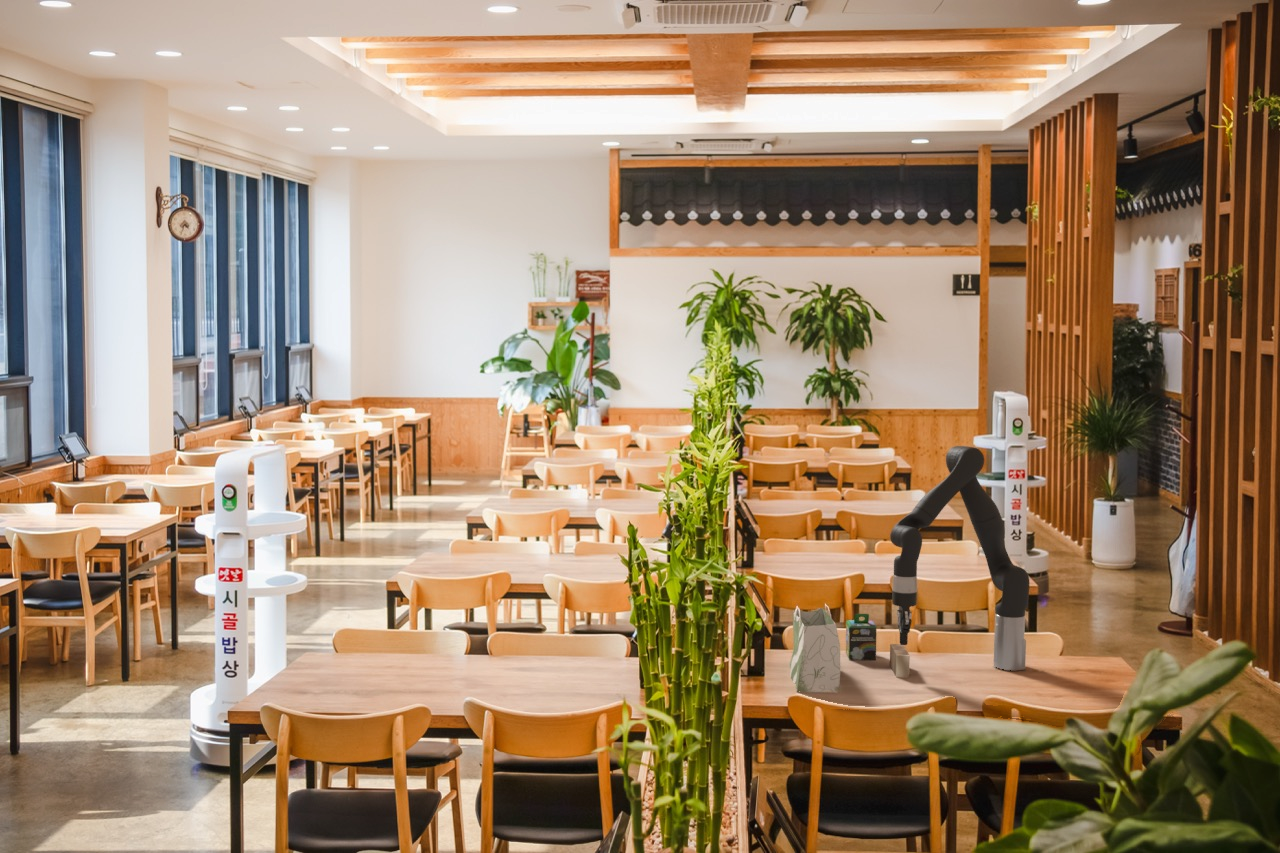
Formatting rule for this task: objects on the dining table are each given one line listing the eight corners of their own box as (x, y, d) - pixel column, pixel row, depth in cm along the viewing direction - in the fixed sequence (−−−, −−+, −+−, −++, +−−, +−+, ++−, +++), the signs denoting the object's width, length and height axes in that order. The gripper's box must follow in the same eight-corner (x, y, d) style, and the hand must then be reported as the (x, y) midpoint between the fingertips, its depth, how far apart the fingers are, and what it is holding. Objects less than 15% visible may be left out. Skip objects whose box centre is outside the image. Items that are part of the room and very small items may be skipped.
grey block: (909, 677, 406) (902, 665, 420) (909, 655, 406) (902, 644, 419) (896, 677, 406) (889, 665, 420) (896, 655, 406) (890, 644, 420)
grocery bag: (785, 664, 421) (786, 593, 419) (828, 664, 421) (830, 594, 419) (794, 692, 390) (795, 616, 388) (841, 693, 389) (842, 616, 387)
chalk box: (872, 653, 435) (873, 609, 434) (876, 660, 426) (877, 616, 425) (844, 653, 435) (845, 609, 434) (848, 660, 426) (849, 615, 425)
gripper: (920, 594, 397) (919, 650, 399) (913, 585, 410) (912, 639, 412) (895, 593, 397) (894, 649, 399) (889, 585, 411) (888, 639, 412)
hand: (903, 644), depth 405 cm, fingers closed
